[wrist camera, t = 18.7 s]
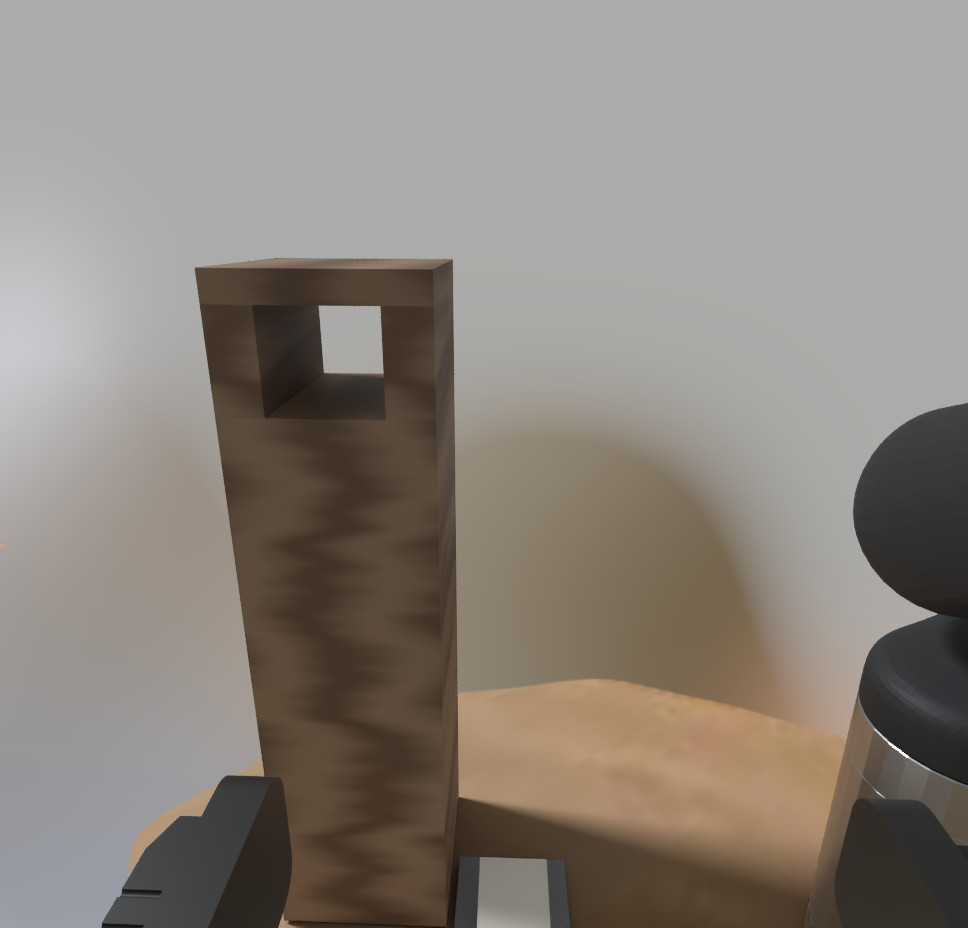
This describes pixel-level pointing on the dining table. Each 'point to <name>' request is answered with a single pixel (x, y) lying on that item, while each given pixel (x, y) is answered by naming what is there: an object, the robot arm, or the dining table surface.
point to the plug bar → (513, 893)
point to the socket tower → (346, 571)
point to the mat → (470, 888)
